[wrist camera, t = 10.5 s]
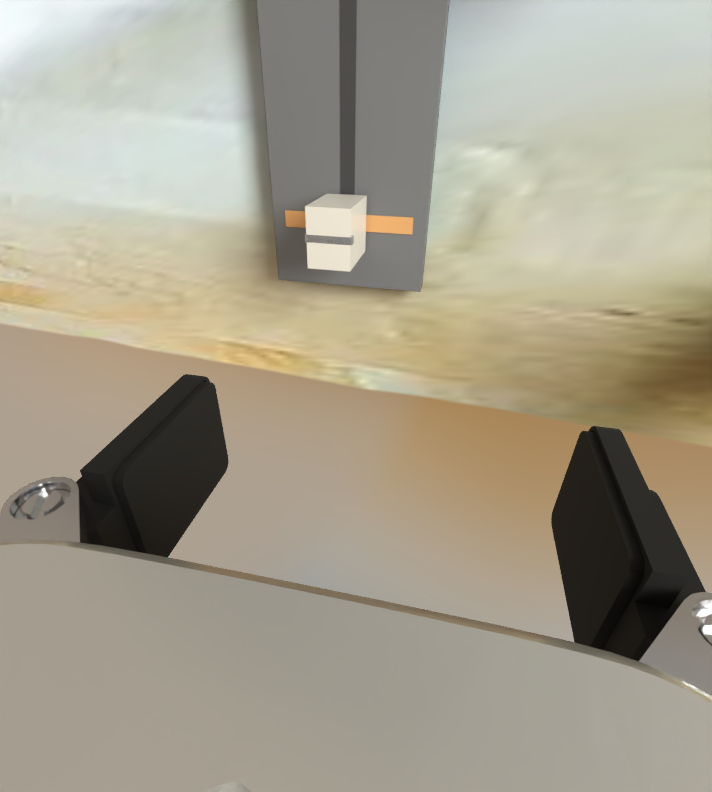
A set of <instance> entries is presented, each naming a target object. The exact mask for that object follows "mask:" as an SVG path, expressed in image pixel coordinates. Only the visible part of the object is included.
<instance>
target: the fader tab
mask: <svg viewBox="0 0 712 792" xmlns="http://www.w3.org/2000/svg"><path fill="white" fill-rule="evenodd" d="M366 205H367V196H365V195H345V194H325V195H324V196H322V197H320V198H319V199H317V200H315V201H313V202H312V203H310V204H308V205H306V206H305V218H306V234H305V242H307V264H308V268H310V269H323V270H335V271H348V272H350V271H351V270H352V268H353V267H354V266H355V264H356V263H357V262H358V260H359V259H360V258H361V256H362V255H363V254H364V252H365V245H366Z"/></svg>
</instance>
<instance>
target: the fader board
mask: <svg viewBox="0 0 712 792" xmlns="http://www.w3.org/2000/svg"><path fill="white" fill-rule="evenodd" d="M449 1H450V0H257V12H258V24H259V37H260V50H261V62H262V75H263V87H264V100H265V113H266V125H267V138H268V150H269V163H270V175H271V188H272V201H273V213H274V226H275V238H276V251H277V264H278V276H279V280H288V281H300V282H312V283H323V284H335V285H347V286H359V287H370V288H382V289H394V290H406V291H417V292H420V291H421V287H422V283H423V272H424V262H425V251H426V241H427V231H428V220H429V210H430V199H431V189H432V178H433V168H434V157H435V147H436V137H437V126H438V116H439V105H440V95H441V84H442V74H443V64H444V53H445V43H446V32H447V22H448V11H449ZM325 194H345V195H365V196H367V205H366V245H365V252H364V254H363V255H362V256H361V258H360V259H359V260H358V262H357V263H356V264H355V266H354V267H353V268H352V270H351V271H350V272H348V271H335V270H323V269H310V268H308V264H307V242H305V234H306V218H305V206H306V205H308V204H310V203H312V202H313V201H315V200H317V199H319V198H320V197H322V196H324V195H325Z"/></svg>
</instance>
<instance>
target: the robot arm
mask: <svg viewBox="0 0 712 792" xmlns="http://www.w3.org/2000/svg"><path fill="white" fill-rule="evenodd" d="M227 467H228V455H227V449H226V444H225V438H224V433H223V427H222V423H221V416H220V410H219V405H218V400H217V394H216V389H215V385H214V384H213V383H210V381H209V379H208V378H207V377H204V376H196V375H188V374H186V375H183V376H182V377H181V378H180V379H179V380H178V381H177V382H175V383H174V384H173V385H172V386H171V387H170V388H169V389H168V390H167V391H166V392H165V393H163V395H161V396H160V397H159V398H158V399H157V400H156V401H155V402H154V403H153V404H152V405H150V407H148V408H147V409H146V410H145V411H144V412H143V413H142V414H141V415H140V416H139V417H138V418H136V419H135V420H134V421H133V422H132V423H131V424H130V425H129V426H128V427H127V428H126V429H125V430H123V431H122V432H121V433H120V434H119V435H118V436H117V437H116V438H115V439H114V440H113V441H111V442H110V443H109V444H108V445H107V446H106V447H105V448H104V449H103V450H102V451H101V452H100V453H99V454H97V455H96V456H95V457H94V458H93V459H92V460H91V461H90V462H89V463H88V464H87V465H85V466H84V467H83V468H82V469H81V470H80V472H81V474H82V477H81V478H80V479H79V480H78V481H77V482H75V481H73V480H72V479H69V478H66V477H51V478H46V479H42V480H39V481H36V482H33V483H31V484H28V485H27V486H25V487H23V488H21V489H19V490H18V491H17V492H15V493H14V494H13V495H11V496H10V497H9V499H8V500H7V501H6V502H5V503H4V505H3V507H2V510H1V514H0V792H712V593H707V592H706V591H705V589H704V587H703V585H702V583H701V581H700V579H699V577H698V575H697V573H696V571H695V569H694V567H693V565H692V563H691V561H690V559H689V557H688V555H687V552H686V550H685V548H684V546H683V544H682V542H681V540H680V538H679V536H678V534H677V532H676V530H675V528H674V526H673V524H672V522H671V520H670V518H669V516H668V514H667V512H666V510H665V508H664V505H663V503H662V502H661V499H660V498H659V496H658V495H657V493H655V492H654V491H652V490H649V489H648V487H647V485H646V483H645V481H644V478H643V476H642V474H641V472H640V470H639V468H638V465H637V463H636V461H635V459H634V457H633V455H632V453H631V451H630V448H629V446H628V444H627V442H626V440H625V438H624V436H623V434H622V432H621V431H620V430H619V429H613V428H605V427H597V426H593V427H591V428H590V430H589V432H588V431H582V432H581V433H580V436H579V438H578V441H577V444H576V446H575V449H574V452H573V455H572V458H571V461H570V464H569V466H568V469H567V472H566V475H565V478H564V480H563V483H562V486H561V489H560V492H559V495H558V497H557V500H556V503H555V506H554V509H553V512H552V529H553V535H554V540H555V545H556V550H557V555H558V560H559V565H560V570H561V575H562V580H563V585H564V590H565V596H566V601H567V606H568V610H569V616H570V621H571V626H572V631H573V636H574V641H575V643H574V642H570V641H566V640H562V639H557V638H552V637H548V636H544V635H539V634H535V633H531V632H526V631H522V630H517V629H513V628H508V627H504V626H500V625H495V624H490V623H485V622H481V621H476V620H471V619H467V618H462V617H457V616H452V615H448V614H443V613H438V612H433V611H428V610H424V609H419V608H414V607H409V606H404V605H400V604H395V603H390V602H385V601H381V600H376V599H370V598H366V597H361V596H356V595H351V594H347V593H341V592H337V591H332V590H327V589H322V588H317V587H312V586H307V585H303V584H298V583H293V582H288V581H283V580H278V579H273V578H267V577H263V576H258V575H253V574H248V573H243V572H238V571H233V570H228V569H223V568H218V567H213V566H207V565H203V564H198V563H193V562H187V561H182V560H178V559H173V558H168V556H169V555H170V553H171V552H172V550H173V549H174V547H175V546H176V544H177V543H178V541H179V540H180V538H181V537H182V535H183V534H184V532H185V531H186V529H187V528H188V526H189V525H190V523H191V522H192V521H193V519H194V518H195V516H196V515H197V513H198V512H199V510H200V509H201V507H202V506H203V504H204V503H205V501H206V500H207V498H208V497H209V495H210V494H211V492H212V491H213V489H214V488H215V487H216V485H217V484H218V482H219V481H220V479H221V478H222V476H223V475H224V473H225V472H226V469H227Z"/></svg>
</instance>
